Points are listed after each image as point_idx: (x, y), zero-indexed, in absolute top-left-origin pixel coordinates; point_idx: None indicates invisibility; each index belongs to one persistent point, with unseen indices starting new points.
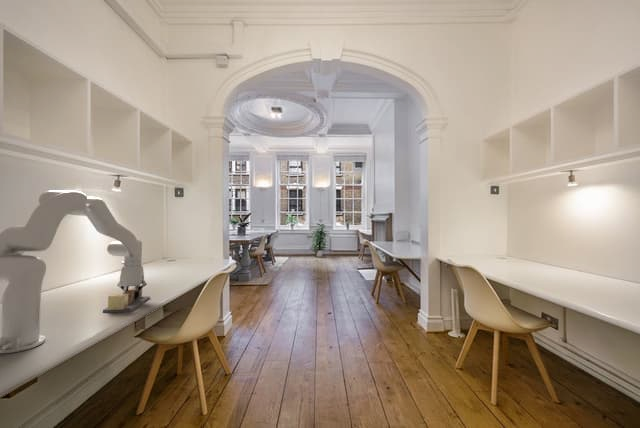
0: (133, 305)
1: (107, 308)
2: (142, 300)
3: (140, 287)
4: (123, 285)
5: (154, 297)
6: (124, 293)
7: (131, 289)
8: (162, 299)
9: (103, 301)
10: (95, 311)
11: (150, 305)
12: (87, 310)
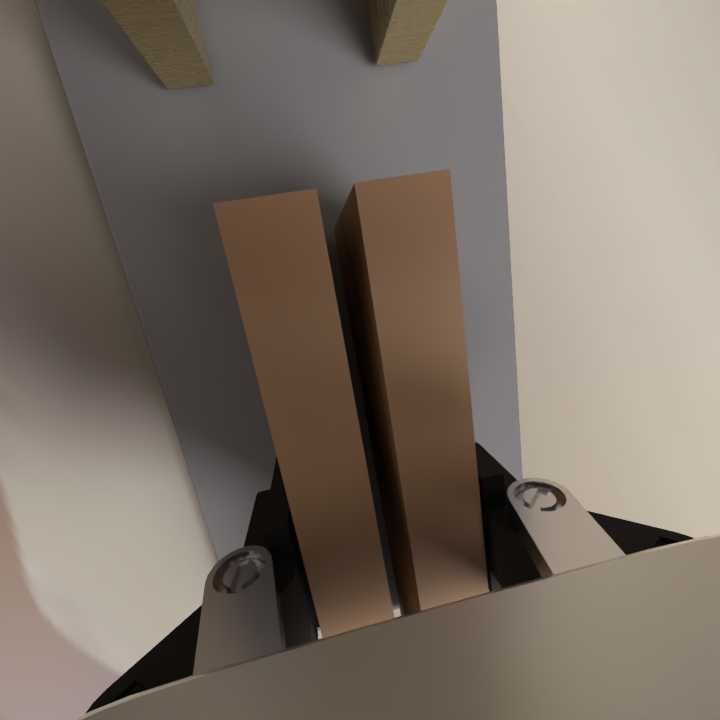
0: (160, 219)
1: (468, 26)
2: (212, 479)
3: (129, 694)
4: (705, 549)
5: None
6: (408, 287)
7: None
8: (70, 634)
9: (688, 447)
10: (596, 56)
11: (24, 383)
12: (703, 101)
